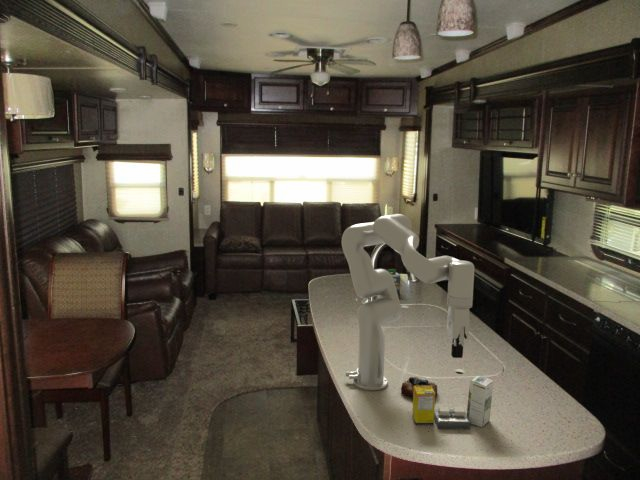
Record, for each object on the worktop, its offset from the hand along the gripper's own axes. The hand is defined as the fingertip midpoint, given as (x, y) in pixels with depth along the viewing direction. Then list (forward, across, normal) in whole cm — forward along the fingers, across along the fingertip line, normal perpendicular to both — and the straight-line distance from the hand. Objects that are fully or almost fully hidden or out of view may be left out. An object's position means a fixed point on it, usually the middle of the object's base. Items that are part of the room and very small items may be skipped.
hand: (456, 356), depth 174 cm
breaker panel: (+23, -1, -1) cm, 23 cm away
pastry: (+23, -20, -8) cm, 31 cm away
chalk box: (+21, -143, -4) cm, 145 cm away
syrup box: (+23, -2, +8) cm, 25 cm away
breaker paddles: (+20, -1, -1) cm, 20 cm away
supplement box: (+23, -2, -10) cm, 25 cm away
